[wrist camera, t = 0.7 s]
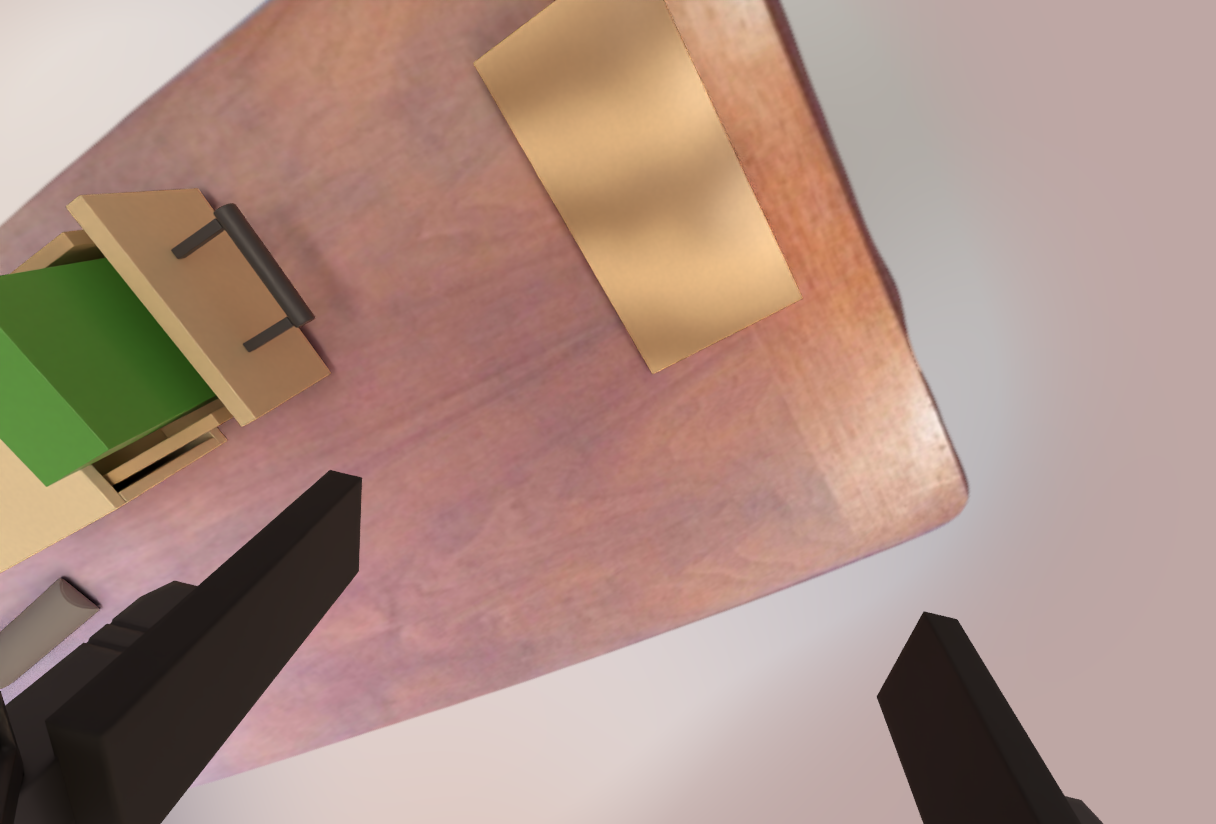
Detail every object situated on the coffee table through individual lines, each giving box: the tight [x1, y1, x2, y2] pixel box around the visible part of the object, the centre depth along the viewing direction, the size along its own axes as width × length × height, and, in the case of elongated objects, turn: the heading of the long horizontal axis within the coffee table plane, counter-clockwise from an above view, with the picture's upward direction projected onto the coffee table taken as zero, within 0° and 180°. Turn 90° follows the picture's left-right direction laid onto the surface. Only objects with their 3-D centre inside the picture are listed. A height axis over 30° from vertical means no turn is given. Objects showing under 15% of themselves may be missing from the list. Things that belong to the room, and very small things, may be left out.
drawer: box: [10, 188, 331, 486], centre depth 36 cm, size 19×13×8 cm
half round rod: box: [0, 578, 99, 689], centre depth 55 cm, size 4×20×2 cm, turn 128°
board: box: [473, 0, 803, 374], centre depth 33 cm, size 20×10×1 cm, turn 30°
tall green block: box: [0, 258, 218, 487], centre depth 33 cm, size 5×9×12 cm, turn 28°
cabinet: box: [0, 427, 227, 573], centre depth 40 cm, size 16×15×10 cm
